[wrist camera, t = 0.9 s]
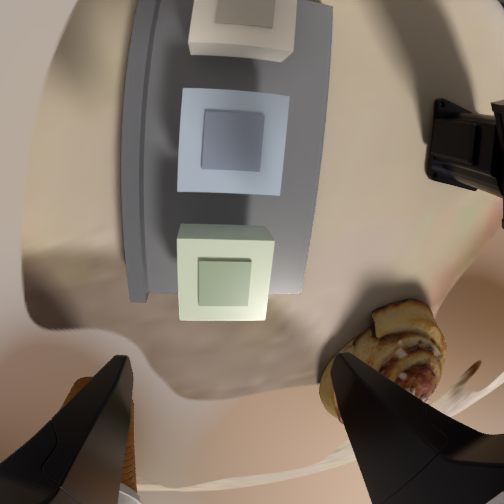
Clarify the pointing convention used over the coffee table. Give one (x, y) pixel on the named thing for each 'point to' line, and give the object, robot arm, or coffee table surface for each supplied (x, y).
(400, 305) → the pastry
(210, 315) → the key sage
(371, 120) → the coffee table surface
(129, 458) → the disposable coffee cup
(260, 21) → the key ivory
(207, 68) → the keypad
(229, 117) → the key blue
